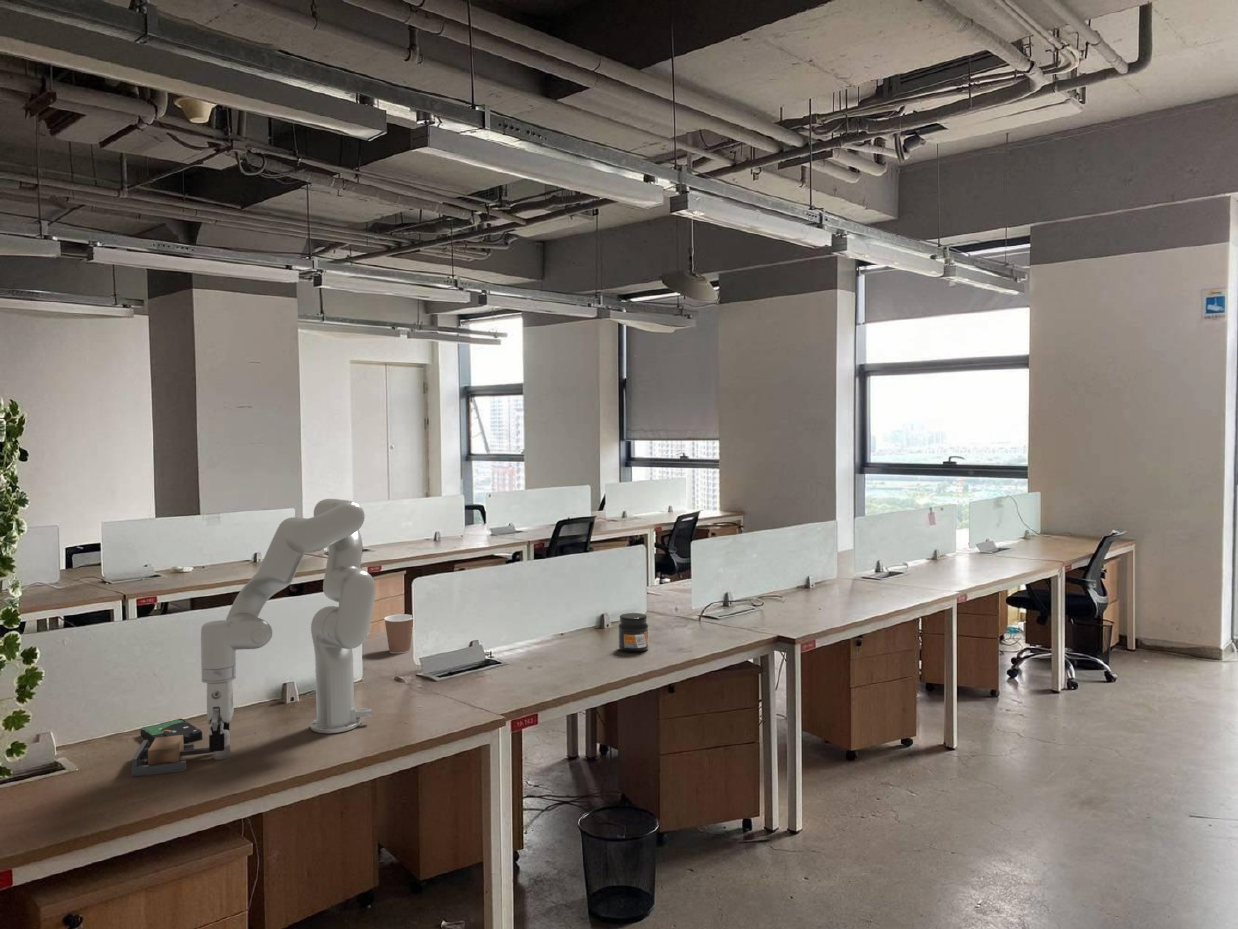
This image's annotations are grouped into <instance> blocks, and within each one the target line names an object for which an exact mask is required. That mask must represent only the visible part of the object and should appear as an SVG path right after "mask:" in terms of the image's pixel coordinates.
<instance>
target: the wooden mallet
mask: <svg viewBox="0 0 1238 929" xmlns="http://www.w3.org/2000/svg"><path fill="white" fill-rule="evenodd" d="M229 732H230V729H229V730H223V733H224V750H223V751H216V752H210V751H209V746H208V747H200V748H199V747H198V748H194V749H190V750H184V742H183V735H177V736H168V737H159V738H155V740H154V741H153V743H152V744H151V745H149V746H150V747H149V750H148V759H147V762H148V763H147V765H152V764H161V763H169V762H178V761H183V758H184V757H187V756H193V755H194V756H195V755H196V756H197V755H203V754H212V753H213V760H216V761H217V760H218V761H219V760H225V759H229V758H230V757H231V741H230V740H231V739H230V738H231V737H230V735H229Z"/></svg>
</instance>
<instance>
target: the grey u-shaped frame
mask: <svg viewBox="0 0 1238 929" xmlns="http://www.w3.org/2000/svg"><path fill="white" fill-rule="evenodd" d="M149 743H150V742H148V740H145V739H143V741H142V742H141V744H140V746H138V749H137V750H136V752H135V753H134V755H133V756H132V758H131V776H132V778H133V777H141V776H142V777H143V776H152V775H153V776H154V775H158V774H167V773H170V774H171V773H178V772H185V771H187V760H181V761H178V762H169V763H161V764H152V765H148V764H146V765H145V763H146V762H147V761H148V750H149V748H150V747H149V746H150V744H149ZM190 749H195V742H191V743H187V744H184V750H190Z"/></svg>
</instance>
